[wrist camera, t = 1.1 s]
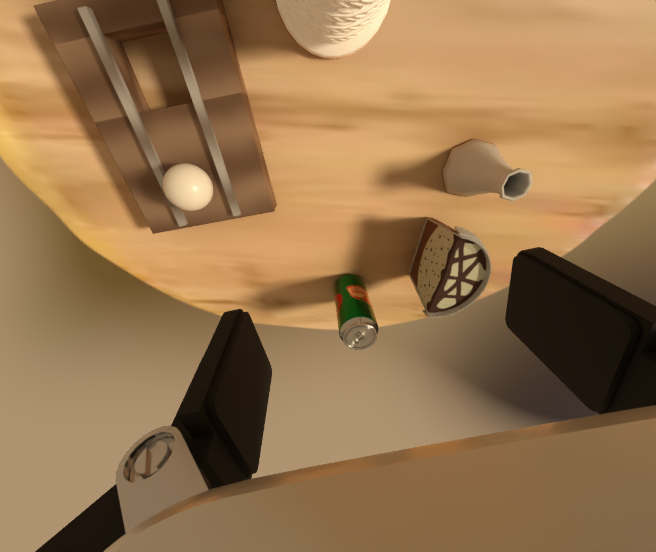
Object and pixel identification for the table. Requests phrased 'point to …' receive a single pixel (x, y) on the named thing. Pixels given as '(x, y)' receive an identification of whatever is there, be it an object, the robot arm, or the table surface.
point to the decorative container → (332, 24)
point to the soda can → (354, 313)
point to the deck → (173, 122)
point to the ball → (188, 187)
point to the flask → (483, 172)
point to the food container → (448, 268)
